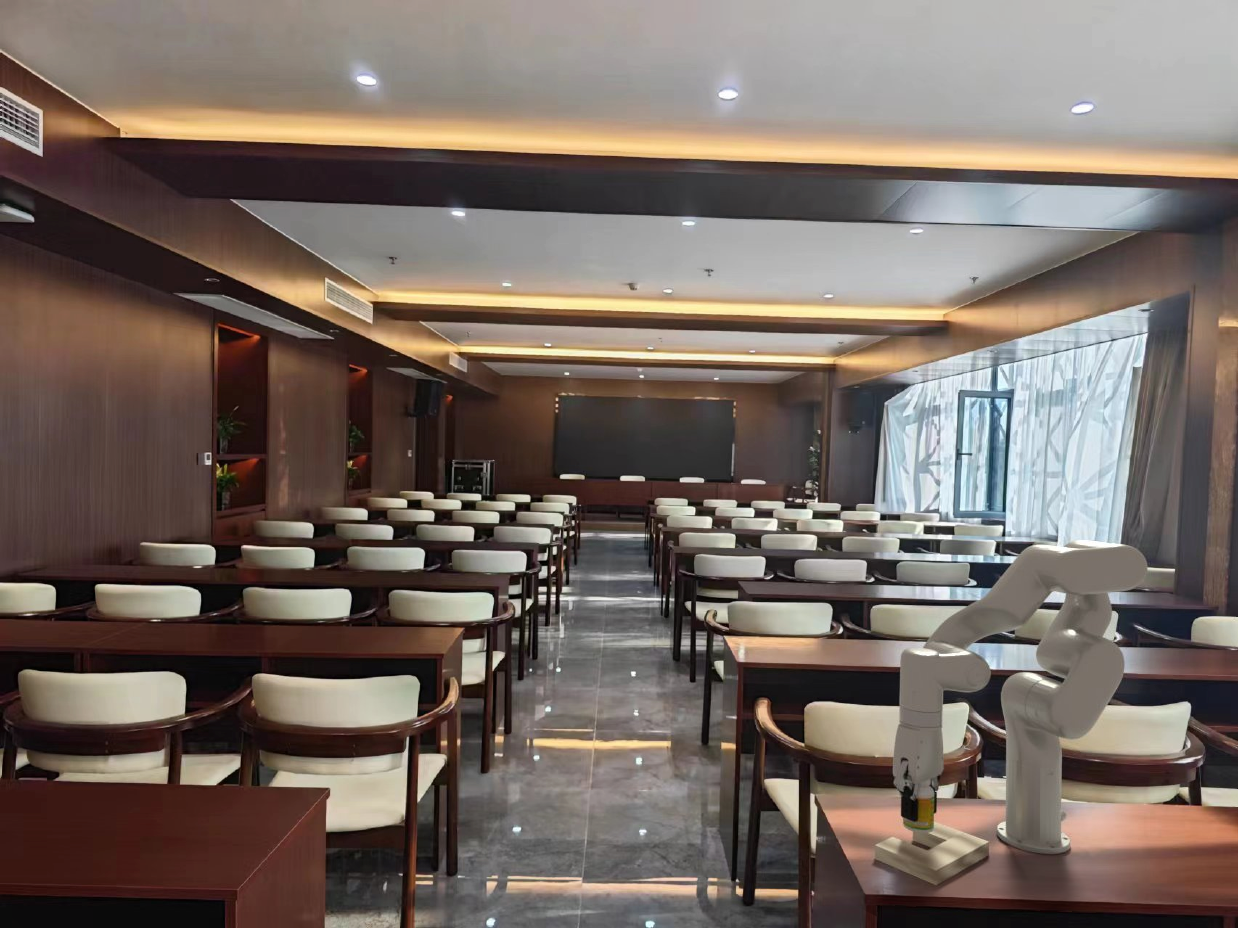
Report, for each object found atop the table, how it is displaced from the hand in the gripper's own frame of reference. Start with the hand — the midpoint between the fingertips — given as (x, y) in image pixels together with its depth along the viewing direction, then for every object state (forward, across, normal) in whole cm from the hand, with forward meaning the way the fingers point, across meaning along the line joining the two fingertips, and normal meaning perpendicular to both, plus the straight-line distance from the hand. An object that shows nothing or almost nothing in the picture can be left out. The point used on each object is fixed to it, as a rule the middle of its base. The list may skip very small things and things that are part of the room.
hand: (918, 814), depth 153 cm
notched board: (+7, 0, +3) cm, 7 cm away
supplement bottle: (+3, 0, 0) cm, 3 cm away
